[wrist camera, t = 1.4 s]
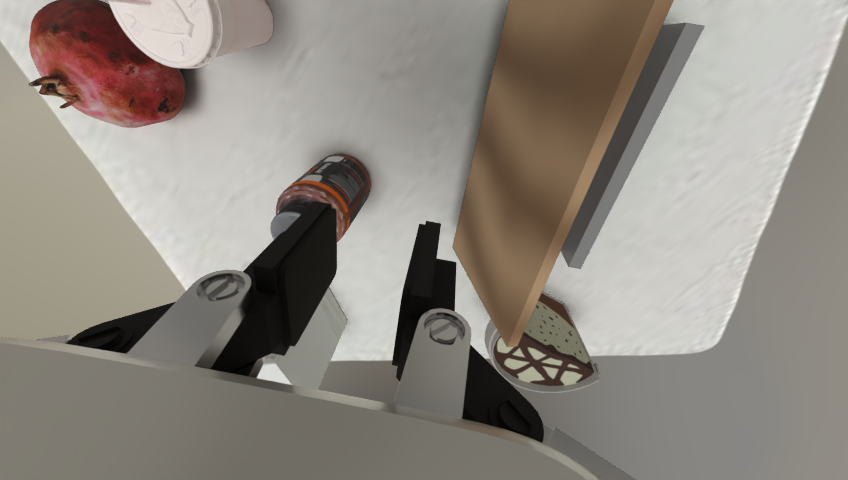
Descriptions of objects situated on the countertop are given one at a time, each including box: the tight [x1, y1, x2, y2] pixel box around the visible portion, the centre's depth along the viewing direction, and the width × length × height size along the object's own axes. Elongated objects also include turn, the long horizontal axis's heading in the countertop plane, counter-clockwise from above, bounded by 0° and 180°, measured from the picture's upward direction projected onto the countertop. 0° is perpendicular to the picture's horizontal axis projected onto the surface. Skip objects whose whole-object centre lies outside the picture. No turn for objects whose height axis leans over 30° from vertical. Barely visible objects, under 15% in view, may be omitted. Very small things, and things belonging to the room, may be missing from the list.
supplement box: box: [257, 288, 347, 390], centre depth 38 cm, size 7×7×13 cm
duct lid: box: [453, 0, 673, 347], centre depth 21 cm, size 20×12×1 cm
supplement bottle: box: [271, 155, 370, 242], centre depth 29 cm, size 6×6×11 cm
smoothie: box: [105, 0, 274, 69], centre depth 21 cm, size 6×6×14 cm
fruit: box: [29, 0, 186, 128], centre depth 25 cm, size 9×10×10 cm
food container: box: [485, 291, 600, 393], centre depth 35 cm, size 12×6×10 cm, turn 61°
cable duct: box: [561, 23, 705, 269], centre depth 28 cm, size 20×12×4 cm, turn 172°
